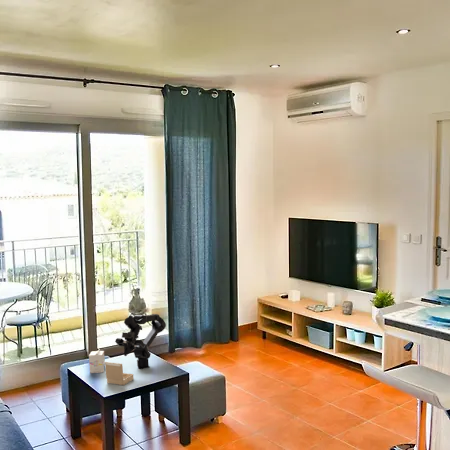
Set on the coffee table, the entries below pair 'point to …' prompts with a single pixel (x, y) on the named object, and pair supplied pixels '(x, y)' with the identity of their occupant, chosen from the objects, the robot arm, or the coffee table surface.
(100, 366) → the ink box
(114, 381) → the mailer
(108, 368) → the lid
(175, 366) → the coffee table surface
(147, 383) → the coffee table surface
